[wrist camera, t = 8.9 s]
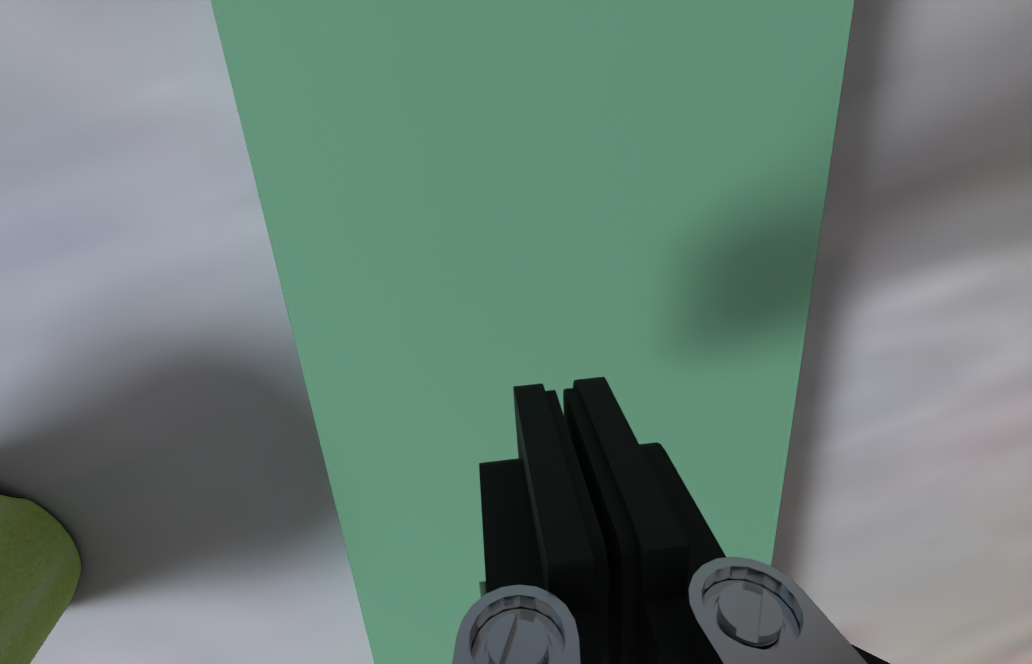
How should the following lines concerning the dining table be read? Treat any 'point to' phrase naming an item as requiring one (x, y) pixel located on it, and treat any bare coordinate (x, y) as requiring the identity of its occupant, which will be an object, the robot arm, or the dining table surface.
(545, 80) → the green
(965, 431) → the dining table surface
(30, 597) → the plant pot
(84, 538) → the dining table surface
